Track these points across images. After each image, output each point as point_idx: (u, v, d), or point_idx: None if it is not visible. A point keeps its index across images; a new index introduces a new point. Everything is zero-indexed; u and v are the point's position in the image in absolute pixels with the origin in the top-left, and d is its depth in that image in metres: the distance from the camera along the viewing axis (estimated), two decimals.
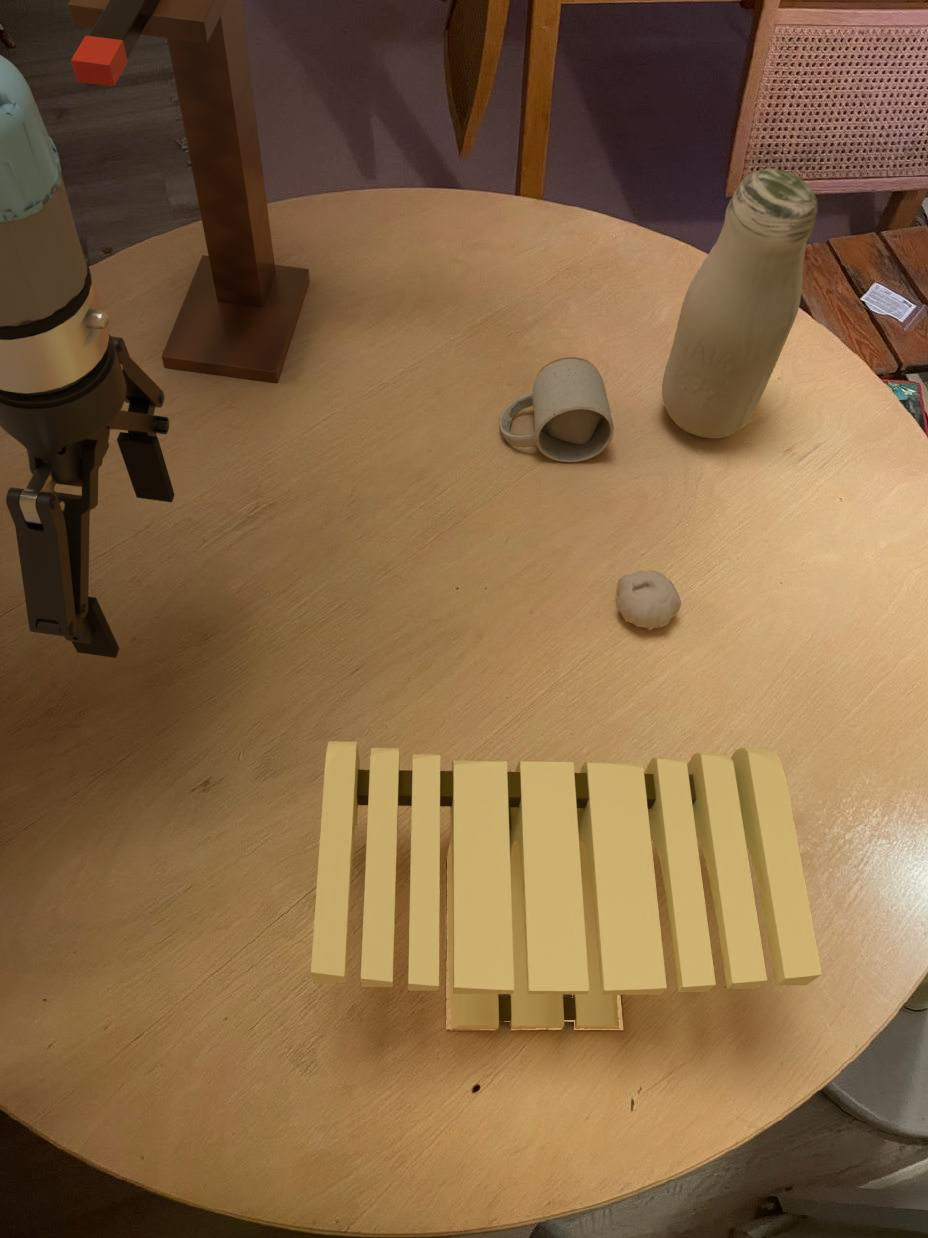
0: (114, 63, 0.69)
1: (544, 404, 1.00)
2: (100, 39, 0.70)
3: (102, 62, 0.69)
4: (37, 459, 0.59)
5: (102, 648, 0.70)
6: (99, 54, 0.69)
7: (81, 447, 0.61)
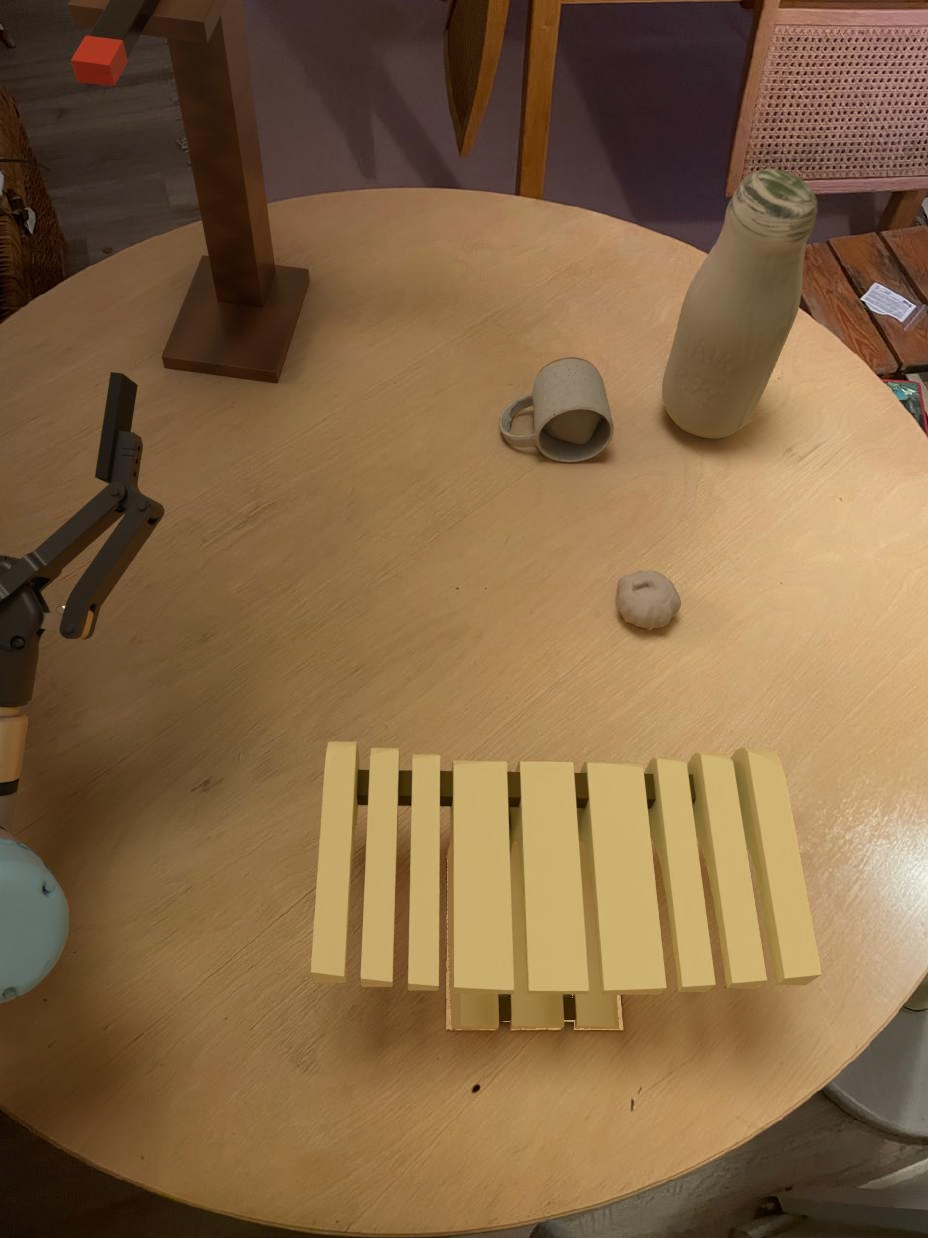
0: (114, 63, 0.69)
1: (544, 404, 1.00)
2: (100, 39, 0.70)
3: (102, 62, 0.69)
4: None
5: None
6: (99, 54, 0.69)
7: None
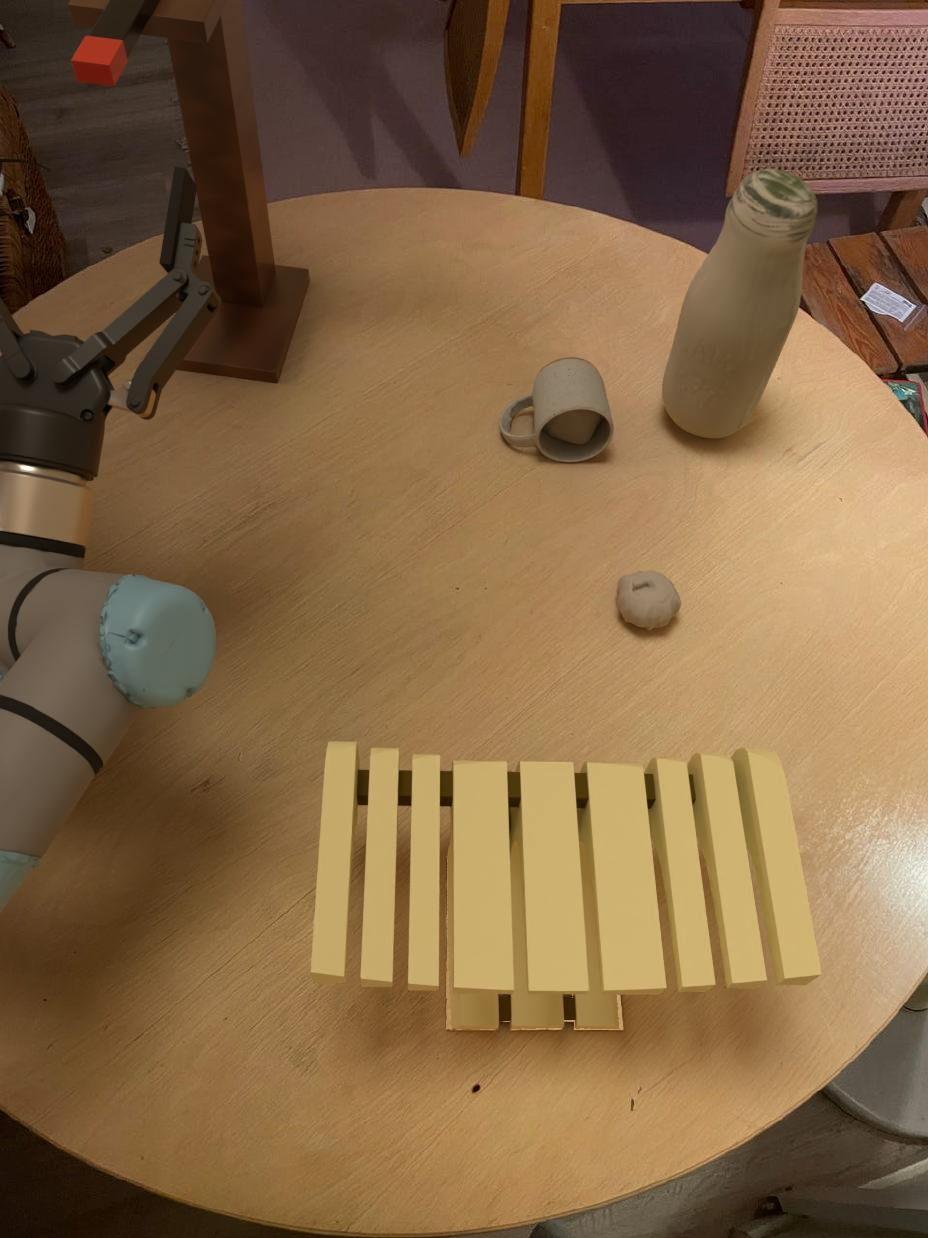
0: (114, 63, 0.69)
1: (544, 404, 1.00)
2: (100, 39, 0.70)
3: (102, 62, 0.69)
4: None
5: None
6: (99, 54, 0.69)
7: None
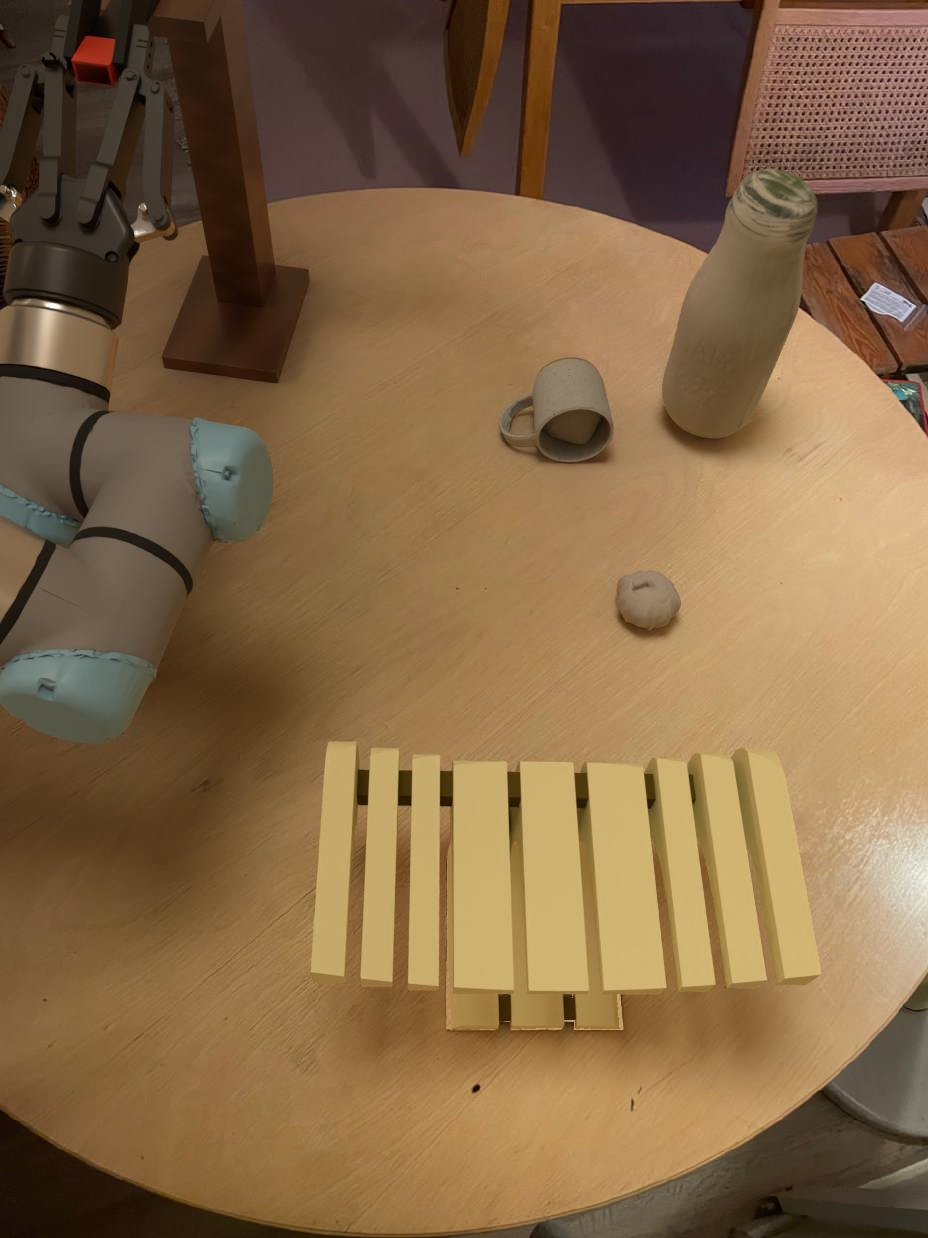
0: None
1: (544, 404, 1.00)
2: (100, 39, 0.70)
3: (102, 62, 0.69)
4: None
5: None
6: (99, 54, 0.69)
7: None
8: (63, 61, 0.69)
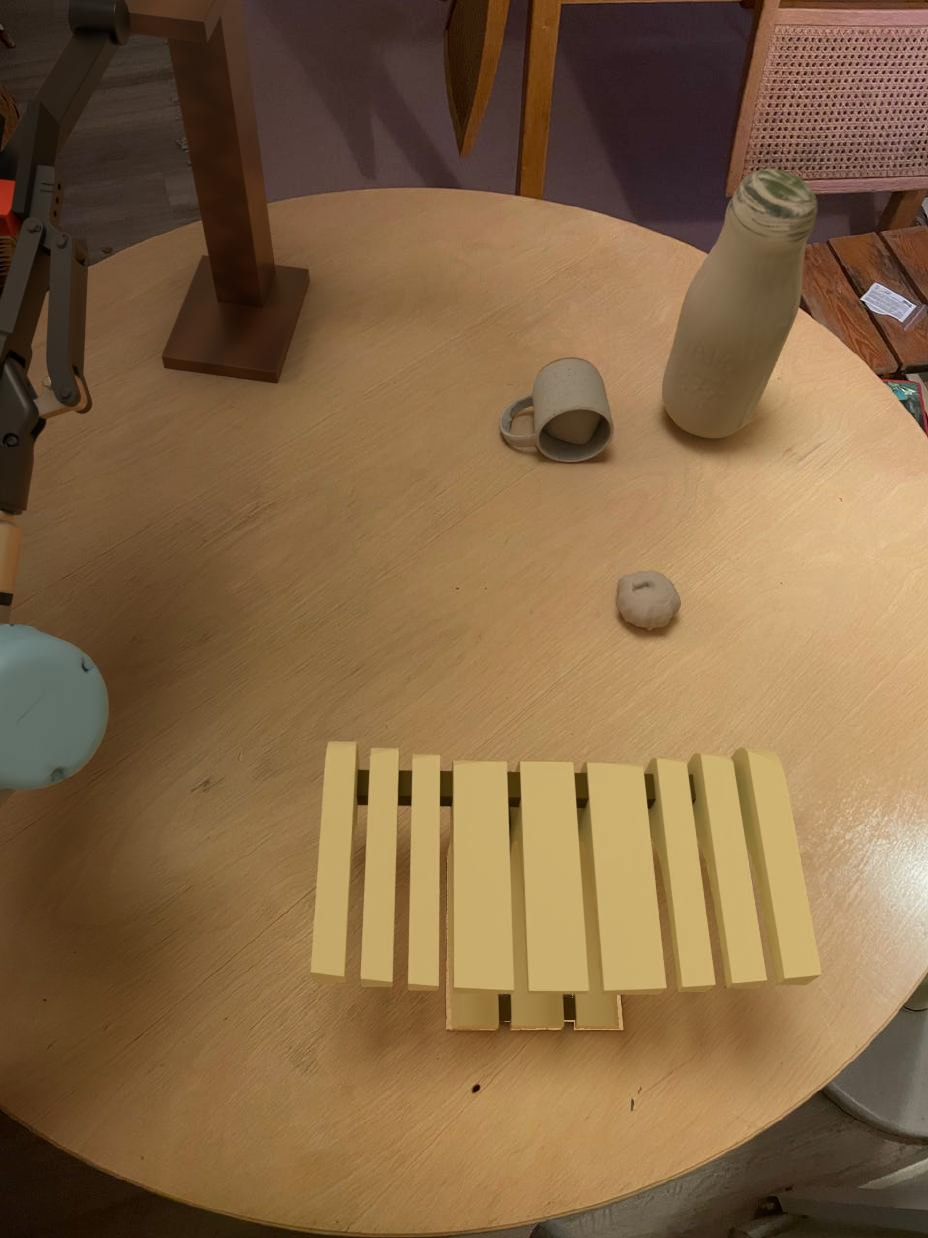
0: None
1: (544, 404, 1.00)
2: None
3: None
4: None
5: None
6: None
7: None
8: None
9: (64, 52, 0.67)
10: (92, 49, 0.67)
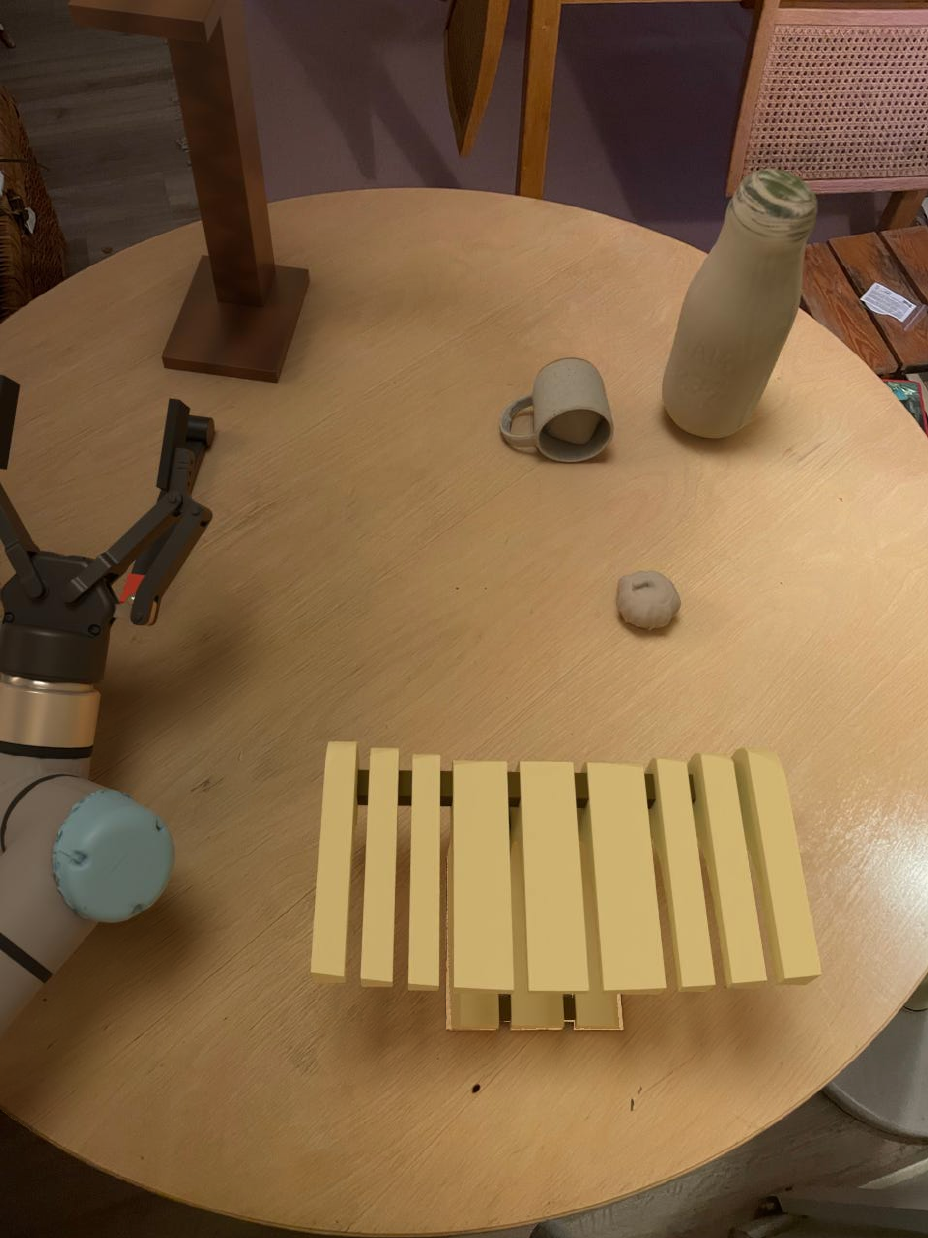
0: None
1: (544, 404, 1.00)
2: (140, 577, 0.92)
3: None
4: None
5: None
6: None
7: None
8: None
9: None
10: None
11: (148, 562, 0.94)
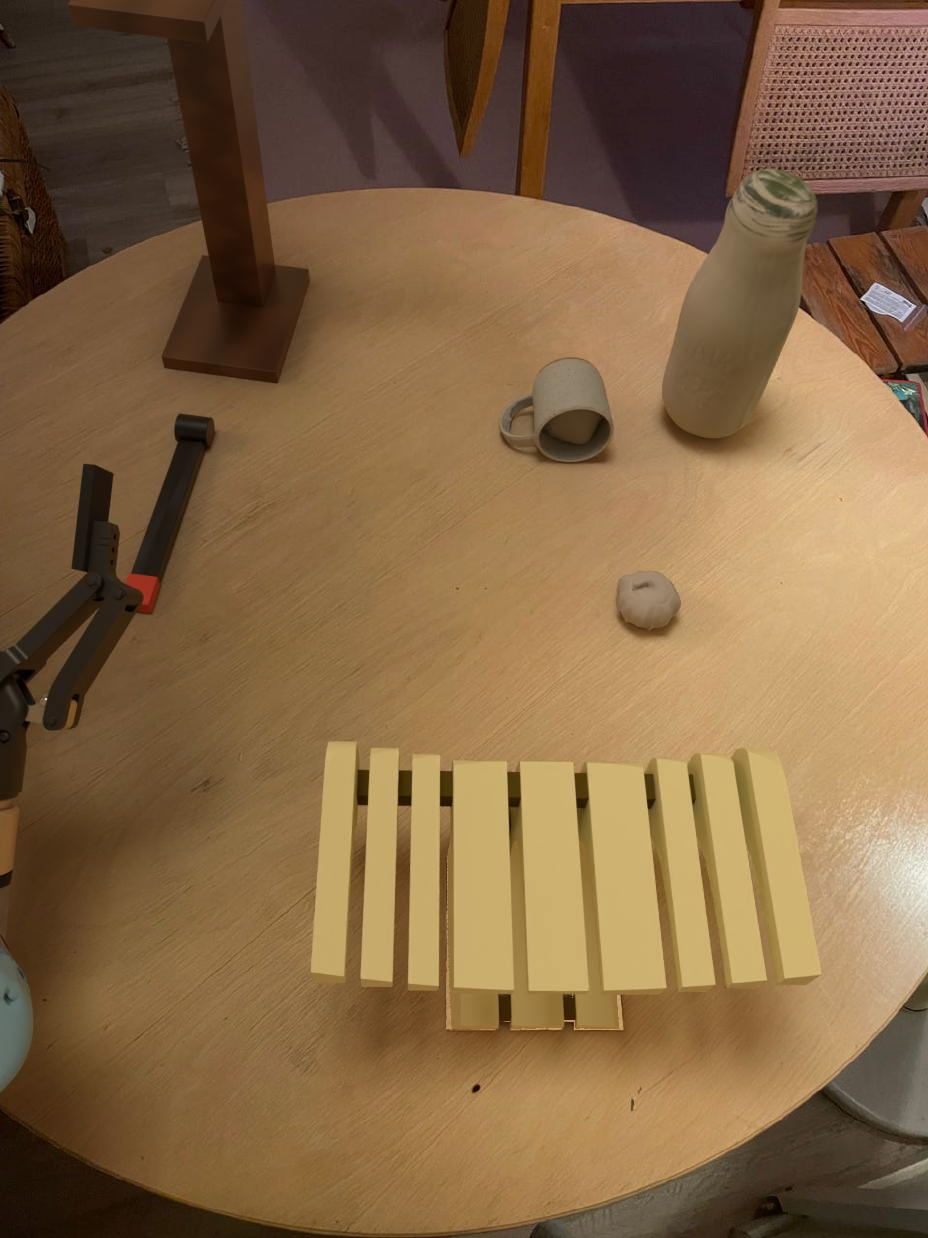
0: (151, 599, 0.92)
1: (544, 404, 1.00)
2: (140, 577, 0.92)
3: (143, 602, 0.91)
4: None
5: None
6: None
7: None
8: None
9: (173, 461, 1.00)
10: (191, 458, 1.00)
11: (148, 562, 0.94)
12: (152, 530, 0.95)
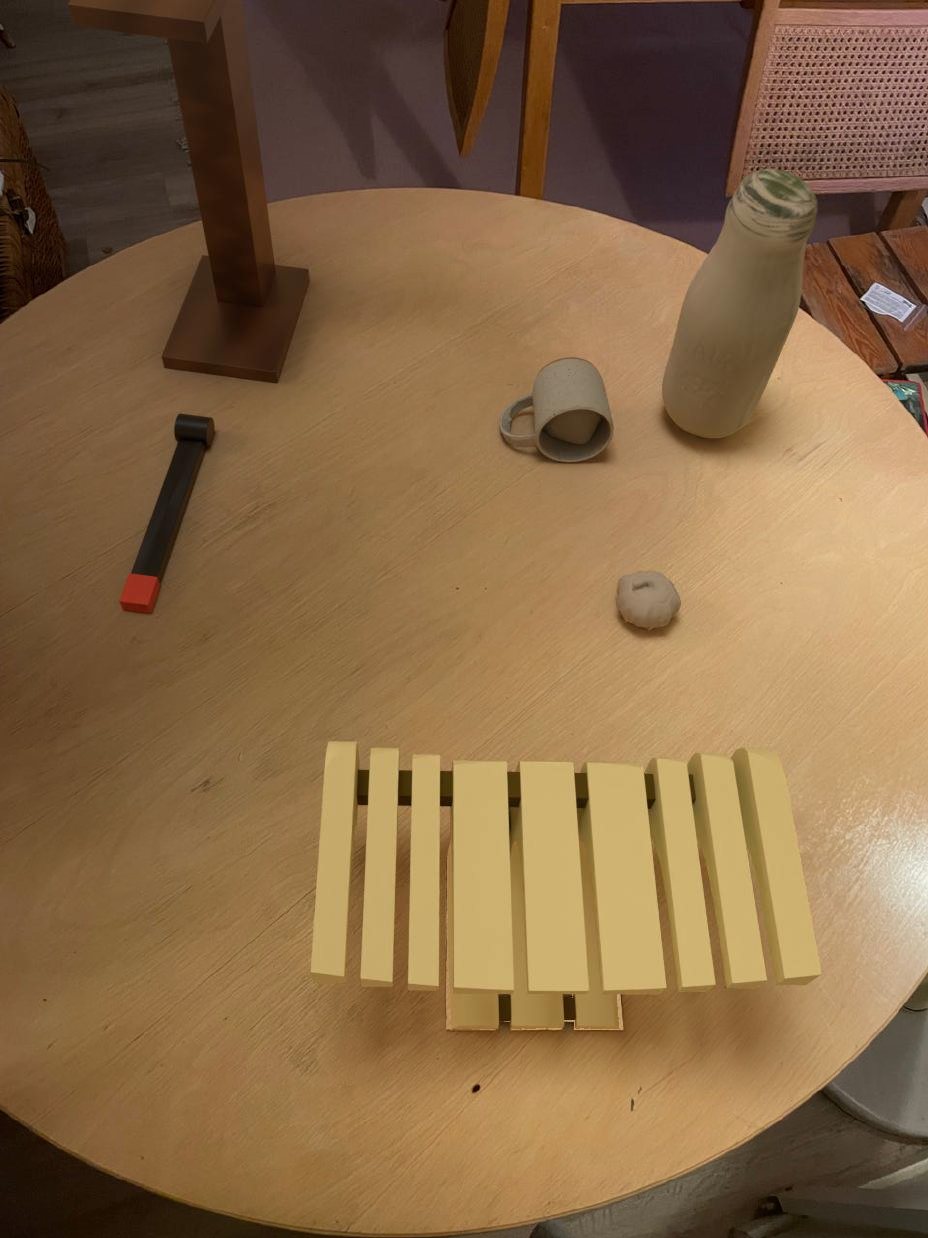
0: (151, 599, 0.92)
1: (544, 404, 1.00)
2: (140, 577, 0.92)
3: (143, 602, 0.91)
4: None
5: None
6: (140, 594, 0.92)
7: None
8: None
9: (173, 461, 1.00)
10: (191, 458, 1.00)
11: (148, 562, 0.94)
12: (152, 530, 0.95)
